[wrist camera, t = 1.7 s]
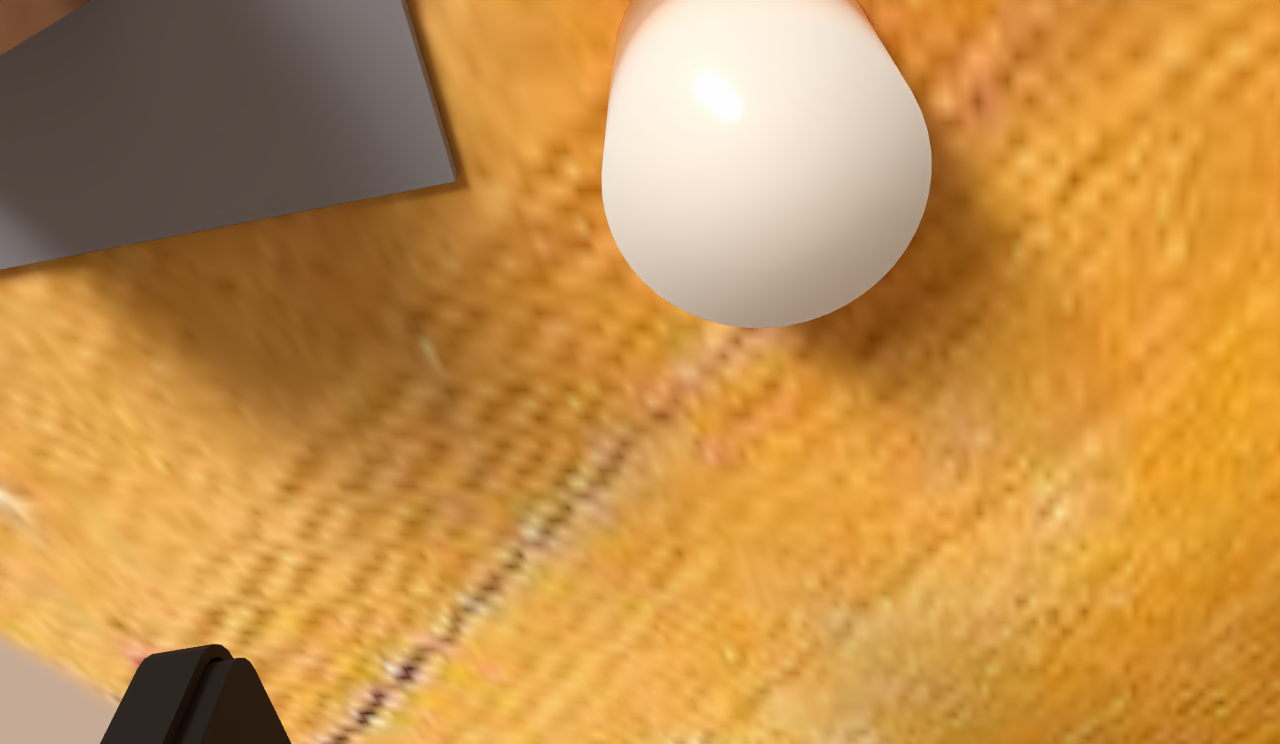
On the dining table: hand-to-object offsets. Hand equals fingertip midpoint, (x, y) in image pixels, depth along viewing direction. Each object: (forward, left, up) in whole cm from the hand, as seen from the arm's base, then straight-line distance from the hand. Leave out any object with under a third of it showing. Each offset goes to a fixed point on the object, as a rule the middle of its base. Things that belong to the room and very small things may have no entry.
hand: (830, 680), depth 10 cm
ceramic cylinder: (0, 0, -16) cm, 16 cm away
